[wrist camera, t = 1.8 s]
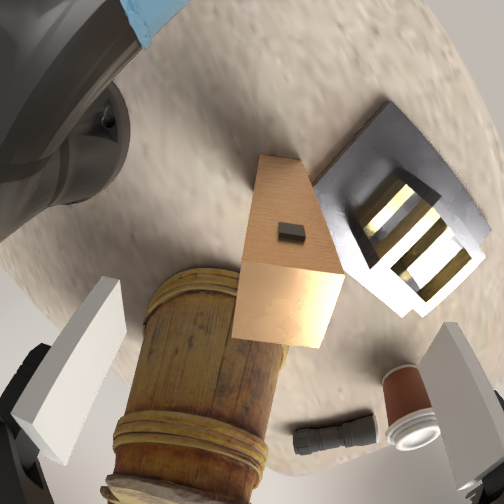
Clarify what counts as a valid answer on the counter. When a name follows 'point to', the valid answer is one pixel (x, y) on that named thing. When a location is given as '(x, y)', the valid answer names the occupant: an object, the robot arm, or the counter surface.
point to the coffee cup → (408, 409)
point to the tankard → (195, 400)
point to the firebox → (400, 215)
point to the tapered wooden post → (286, 260)
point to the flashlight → (336, 436)
